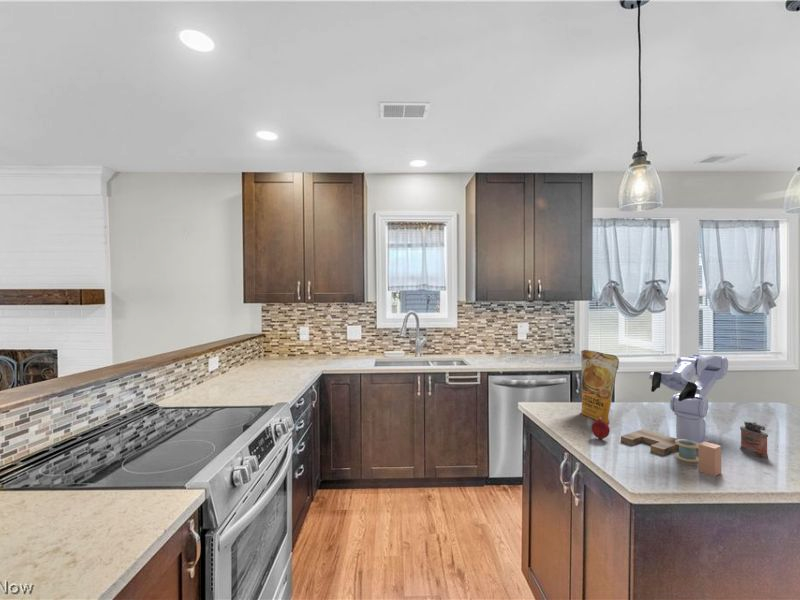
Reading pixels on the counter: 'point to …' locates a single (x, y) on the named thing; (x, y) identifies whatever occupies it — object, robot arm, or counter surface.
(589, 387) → the pancake mix bag
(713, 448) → the peg
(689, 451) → the spool
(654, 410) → the counter surface
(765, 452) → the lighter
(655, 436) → the notched board
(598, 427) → the onion
